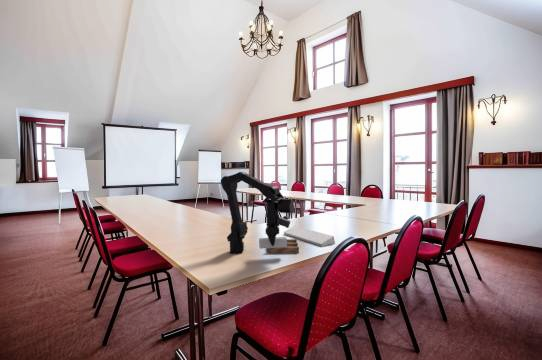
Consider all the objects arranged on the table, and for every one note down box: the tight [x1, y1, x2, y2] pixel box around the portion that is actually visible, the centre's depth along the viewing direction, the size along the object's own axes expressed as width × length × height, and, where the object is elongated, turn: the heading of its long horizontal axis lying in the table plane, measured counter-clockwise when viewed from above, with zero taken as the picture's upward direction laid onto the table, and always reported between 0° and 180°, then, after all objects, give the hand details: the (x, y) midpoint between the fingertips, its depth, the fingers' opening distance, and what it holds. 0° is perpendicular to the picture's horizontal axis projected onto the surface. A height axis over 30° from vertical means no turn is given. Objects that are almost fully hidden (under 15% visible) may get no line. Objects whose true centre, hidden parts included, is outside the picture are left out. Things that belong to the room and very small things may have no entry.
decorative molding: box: [283, 225, 336, 248], centre depth 164 cm, size 34×5×10 cm
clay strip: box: [258, 236, 288, 250], centre depth 131 cm, size 13×4×4 cm, turn 100°
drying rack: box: [266, 238, 300, 254], centre depth 145 cm, size 16×16×3 cm
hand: (272, 244), depth 131 cm, fingers closed on clay strip, 4 cm apart
